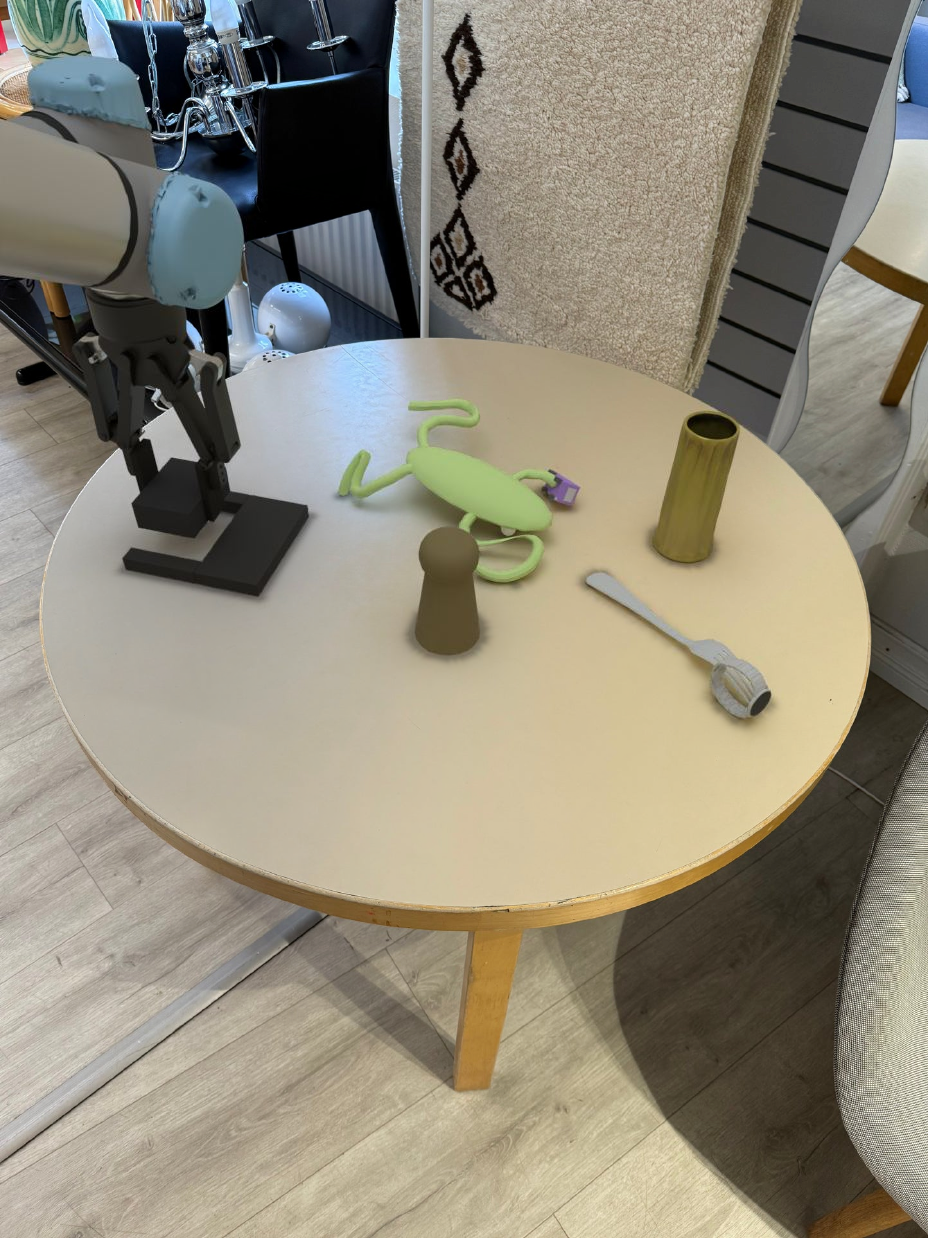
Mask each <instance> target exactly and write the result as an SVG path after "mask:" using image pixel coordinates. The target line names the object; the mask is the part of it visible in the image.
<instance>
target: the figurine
mask: <svg viewBox="0 0 928 1238" xmlns="http://www.w3.org/2000/svg"><path fill="white" fill-rule="evenodd" d="M407 409H408V411H411V412H427V411H440V410H441V411H442V410H450V409H451V410H453V409H454V410H456V409H457V410H460V411H464V412H467V413H468V414H469V415H470V416H468V417H466V416H458V415H453V414H439V415H438V414H437V415H433V416H432V417H430V418H428V419H425V420H424V421H423V422H421V423H420V425H419V427H418V429H417V431H416V440H417V445H418V446H417V447H415V448H413V449H412V450H409V451H408V452H407V454H406V458H405V464H404V463H403V464H401V465H399V466H398V467H396V468H395V469H393V470H391V471H390V472H388V473H386V474H384V475H382V476H380V477H378V478H375V479H374V480H371V481H370V482H368V483H366V484H365V485H363V486H362V480H363V478H364V475H365V472H366V470H367V468H368V466H369V464H370V461H371V460H372V459H371V458H372V457H371V453H370V452H368V451H367V450H366V449H360V450H359V451H358V452H357V453H356V454H355V456H354V457H353V458H352V460H351V461H350V462H349V464H348V465H347V467H346V469H345V471H344V473H343V475H342V478H341V479H340V484H339V487H338V494H339V495H340V496H343V497H344V496H346V495H348V493H349V492H350V494H351V496H352V497H355V498H357V499H359V500H362V499H364V498H368V497H370V496H371V495H373V494H375V493H377V492H378V491H381V490H382V489H384V488H387V487H389V486H391V485H394V484H395V483H396V482H398V481H400V480H402V479H403V478H405V477H406V476H409V475H411V474H412V475H413V476H414V477H416V478H417V480H418V481H419V482H420V483H422V484H423V485H424V486H425V487H426V489H428V490H429V491H430V492H431V493H434V494H435V495H436V496H438V497H439V498H441V499H442V500H444V502H447V503H448V504H449V505H452V506H454V507H455V508H457V509H458V510H461V511H463V512H465V514H464V516H463V517H462V518H461V520H460V521H459V523H458V528H460V529H463V530H465V531H467V532H469V533H470V531H471V526H472V525H473V523H474V522H475V521H476V520H477V519H480V520H482V521H485V522H488V523H491V524H493V525H496V526H499V527H500V530H501V533H502V534H503V535H505V536H506V537H505V538H500V539H499V538H498V539H491V540H479V539H475V540H476V542H477V545H478V547H488V546H493V545H498V544H500V543H503V542H507V541H509V540H512V539H521V538H525V539H526V540H528V541H530V543H531V545H532V550H531V552H530V554H529V556H528V557H527V559H526V560H525V561H524V562H523V563H521V564H519V565H517V566H515V567H513V568H510V569H506V570H495V569H490V568H487V567H485V566H484V565H482V564H480V563H479V562H478V565H477V568H476V569H475V571H474V572H475V573H476V575H479V576H480V577H482V578H484V579H486V580H488V581H492V582H496V583H509V582H514V581H517V580H519V579H522V578H523V577H525V576H527V575H529V574H530V573H532V572H533V571H535V569H536V568H537V566H538V565H539V563H541V561H542V558H543V556H544V553H545V547H544V542H543V540H542V539H541V538H539V537H538V536H537V535H535V534H521V535H515V533H516V531H521V532H542V531H544V530H546V529H547V528H549V527H551V526H552V525H553V514H552V512H551V509H549V507H548V505H547V503H545V501H544V500H543V499H542V498H541V497H540V496H539V495H538V494H537V493H536V492H534V491H533V490H532V488H530V487H529V486H527V485H526V484H524V483H523V482H521V481H523V480H539V481H542V482H544V483H545V484H544V485H543V486H542V487H541V489H540V491H541V492H542V493H544V494H546V495H548V497H547V498H548V499H549V500H550V501H552V502H557V503H560V504H563V505H567V506H570V507H572V506H573V504H574V502H575V500H576V498H577V495H578V493H579V491H580V489H581V486H579V485H577V484H575V483H574V482H573V481H572V480H570V479H569V478H566V477H565V476H563V475H561V474H560V473H558V472H557V471H555V470H553V469H550V468H549V469H548V470H544V469H543V470H542V469H534V468H524V469H521V470H519V471H518V472H515V473H513V474H512V475H511V474H509V473H508V472H506V471H504V470H502V469H500V468H499V467H496V466H495V465H492V464H490V463H488V462H486V461H485V460H482V459H480V458H477V457H474V456H471V455H469V454H465V453H462V452H460V451H457V450H453V449H448V448H441V447H438V446H431V445H430V441H429V436H428V435H429V432H430V431H431V430H433V429H435V428H437V427H442V426H451V427H459V428H466V429H472V428H474V427H477V425H478V424H479V422H480V421H481V414H480V412H479V409H478V408H477V406H475V405H474V404H473V403H472V402H471V401H469V400H465V399H462V398H449V399H448V398H447V399H441V400H427V401H425V400H423V401H422V400H411V401H410V402H409V403H408V408H407ZM513 535H515V536H513Z"/></svg>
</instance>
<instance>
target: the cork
mask: <svg viewBox="0 0 928 1238" xmlns="http://www.w3.org/2000/svg"><path fill="white" fill-rule="evenodd" d="M476 540H477V539H475V537H474V536H473V535H472V534H471V533H470V532H467V531H465V530H463V529H460V528H459V527H456V526H443V527H442V526H441V527H438V528H434V529H432V530H431V531H429V532H428V533H426V535H425V536H424V537H423V539H422V540H421V541H420V544H419V548H418V561H419V564H420V568H421V570H422V571H423V573H424V575H423V580H422V587H421V591H420V597H419V603H418V610H417V616H416V622H415V627H414V635H415V639H416V641H417V642H418V644H419V645H420V646H421V647H423V648H424V649H426V650H427V651H428V652H431V653H435V654H437V655H445V656H451V655H459V654H462V653H464V652H466V651H469V650H470V649H472V648H473V647H474V646H475V645H476V643H477V642H478V640H479V639H480V633H481V628H480V619H479V612H478V605H477V597H476V589H475V579H474V573H475V572H476V571H475V569H476V568H477V565H478V563H479V562H480V548H479V547H480V546H478V545H477V542H476Z"/></svg>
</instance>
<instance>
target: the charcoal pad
mask: <svg viewBox="0 0 928 1238" xmlns="http://www.w3.org/2000/svg"><path fill="white" fill-rule="evenodd" d="M196 463H197V461H195V460H190V459H183V458H177V457H173V456H172V457H169V459H168V460H167V461H166V462H165V463H164V465H163V466H162V467H161V469H159V470H158V471H159V472H158V473H157V474H156V475H155V477H154V478H153V479H152V480H151V481H150V482H149V484H148V485H147V486H146V487H145V488H144V489H143V490H142V491H141V493H140V492H139V494H138V495H137V496H136V497H135V498H134V500H133V501H131V503H130V504H131V508H132V512H133V514H134V517H135V521H136V525H137V528H138V529H141V530H146V531H153V532H158V533H164V534H167V535H172V536H178V537H183V538H188V539H193V540H196V538H197V537H198V535H199V534H200V533H201V532H202V530H203V529H204V527H205V526H206V525H207V523H208V522H209V521H207V519H206V515H205V510H204V505H203V501H202V498H201V493H200V489H199V484H198V479H197V475H196V470H195V466H194V465H195V464H196ZM225 469H226V475H227V483H226V484H225V486H224V487H223V488H222V490H223V495H224V499H225V498H226V497H227V495H228V494H229V493H230V491H231V486H230V481H229V476H228V471H227V466H225Z"/></svg>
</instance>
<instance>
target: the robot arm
mask: <svg viewBox="0 0 928 1238" xmlns="http://www.w3.org/2000/svg"><path fill="white" fill-rule="evenodd" d="M26 83H27V88H28V92H29V97H28V101H29V103H30V106H32V109H30V110H26V111H23V112H22V113H21V114H20V115H17V116H15V117H12V118H9V119H6V120H5V119H2V118H0V276H7V277H14V278H20V279H21V278H22V279H29V280H35V281H44V282H51V283H57V284H65V285H72V286H80V287H82V288H85V289H84V295H85V298H86V301H87V305H88V309H89V312H90V316H91V319H92V323H93V326H94V329H95V330H96V332H97V333H98V335H97V334H96V333H94V332H87V333H86V334H85V335H83V336H82V337H81V338H80V339H78V341H76V343H74V344H73V345H72V346H71V352H72V354H73V355H74V357H75V360H76V361H77V362H78V365H79V366H80V368H81V370H82V374H83V378H84V383H85V387H86V391H87V396H88V400H89V404H90V408H91V412H92V416H93V421H94V425H95V429H96V434H97V437H98V439H99V440H101V441H102V442H104V443H109V442H112V443H115V444H116V445H117V447H118V449H120V450H121V452H122V456H123V459H124V463H125V465H126V469H127V472H128V473H129V475H130V476H132V477H135V480H136V484H137V486H138V487H137V488H138V491H139V494H140V493H141V491H142V490H143V489H144V488H145V487H146V486H147V485H148V484H149V482H150V481H151V480H152V479H153V478H154V477H155V475H156V474H157V473H158V472H159V471H160V470H159V467H158V465H157V459H156V456H155V452H154V448H153V444H152V440H151V439H150V438H144V437H143V438H142V439H141V440H140V438H141V437H142V436H143V435H144V434H145V433H146V430H145V429H143V423H144V422H143V421H144V409H145V395H146V387H152V388H154V389H157V390H159V391H160V393H161V395H162V397H163V399H164V400H165V402H167V403H170V404H171V406H172V408H173V410H174V412H175V413H176V415H177V418H178V419H179V421H180V423H181V425H182V427H183V430H185V432H186V434H187V436H188V438H189V441H190V442H191V444H192V447H193V448H194V450H195V452H196V454H197V455H198V457H199V459H198V460H197V461H196V462H197V463H196V464H195V465H194V466H195V470H196V475H197V479H198V484H199V489H200V493H201V498H202V501H203V505H204V510H205V515H206V519H207V521H208V522H211V523H214V522H215V521H216V520H217V518H218V517H219V516H220V514H221V513H222V512H223V511H222V510H223V509H224V507H225V506H226V505H225V500H224V495H223V490H222V488H223V487H224V486H225V484H226V483H227V475H228V474H227V475H226V470H227V468H226V469H225V467H226V464H228V463H230V461H232V460H233V458H234V457H235V455H236V454H237V453H238V451H239V450H240V449H241V447H242V443H241V440H240V435H239V431H238V427H237V422H236V418H235V413H234V410H233V405H232V402H231V398H230V397H231V396H230V393H229V389H228V384H227V381H226V372H227V371H226V370H227V363H228V359H227V357H226V356H225V354H224V353H222V352H218V351H217V352H215V353H214V354H213V355H210V354H208V353H205V352H204V351H200V350H198V349H196V345H195V344H194V342H193V340H192V339H191V337H190V336H189V334H188V330H187V324H188V323H187V319H188V318H187V317H188V316H187V311H186V308H189V309H192V310H193V309H194V310H205V309H209V308H211V307H214V306H216V305H217V304H219V303H220V302H222V301H223V300H224V299H225V298H227V297H226V296H228V294H229V293H230V292H231V290H232V289H233V288H234V286H235V284H236V282H237V279H238V278H239V275H240V271H241V268H242V257H243V251H244V247H245V236H244V228H243V223H242V219H241V215H240V213H239V211H238V208H237V206H236V204H235V203H234V201H233V200H232V198H231V197H230V196H229V194H228V193H227V192H226V191H225V190H223V188H221V187H220V186H218V185H216V184H214V183H212V182H209V181H206V180H202V179H198V178H196V177H192V176H190V174H188V173H185V172H182V171H177V170H175V171H168V170H164V169H159V168H158V165H157V160H156V159H157V158H156V154H155V149H154V143H153V138H152V124H151V123H150V119H149V118H148V113H147V109H146V106H145V102H144V98H143V94H142V92H141V88H140V84H139V80H138V78H137V75H136V74H135V72H134V71H133V70H132V69H131V68H130V67H129V66H128V65H127V64H125V63H123V62H122V61H120V60H117V59H114V58H109V57H102V56H94V55H93V56H92V55H79V56H78V55H74V56H73V55H72V56H63V57H57V58H56V57H55V58H51V59H48V60H44V61H41V62H39V63H37V64H36V65H35V66H34V67H32V68H31V69H30V70H29V71H28V73H27V76H26ZM110 361H111V362H112V363H113V364H114V365H115V366H116V368H117V377H116V378H117V379H116V381H117V382H116V386H115V381H114V377H113V370H112V366H111V363H110ZM190 366H192V367H193V368H194V371H195V376H193V374H192V372H191V370H190V368H189V367H190ZM194 377H195V378H194ZM195 380H196V381H198V382H199V390H200V395H201V397H200V396H199V394H198V392H197V390H196V387H195V385H196V384H195V383H196V381H195ZM117 391H119V393H118V394H117ZM201 399H202V400H201Z"/></svg>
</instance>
